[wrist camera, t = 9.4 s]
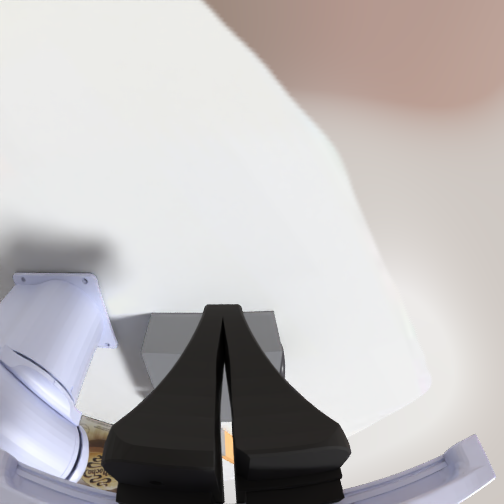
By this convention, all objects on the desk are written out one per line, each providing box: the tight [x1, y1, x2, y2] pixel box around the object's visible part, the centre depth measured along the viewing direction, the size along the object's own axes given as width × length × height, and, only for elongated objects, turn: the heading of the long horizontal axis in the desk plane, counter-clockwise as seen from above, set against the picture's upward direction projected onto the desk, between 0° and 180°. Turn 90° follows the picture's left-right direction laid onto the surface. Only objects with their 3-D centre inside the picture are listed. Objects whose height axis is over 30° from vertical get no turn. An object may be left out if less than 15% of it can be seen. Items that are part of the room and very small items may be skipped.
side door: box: [221, 428, 234, 464], centre depth 29 cm, size 16×1×4 cm, turn 25°
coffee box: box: [77, 416, 118, 493], centre depth 26 cm, size 9×6×16 cm
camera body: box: [141, 311, 285, 422], centre depth 23 cm, size 11×10×5 cm
